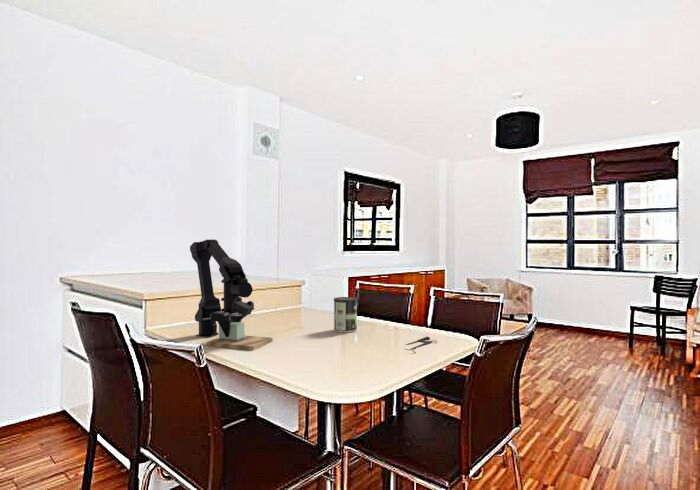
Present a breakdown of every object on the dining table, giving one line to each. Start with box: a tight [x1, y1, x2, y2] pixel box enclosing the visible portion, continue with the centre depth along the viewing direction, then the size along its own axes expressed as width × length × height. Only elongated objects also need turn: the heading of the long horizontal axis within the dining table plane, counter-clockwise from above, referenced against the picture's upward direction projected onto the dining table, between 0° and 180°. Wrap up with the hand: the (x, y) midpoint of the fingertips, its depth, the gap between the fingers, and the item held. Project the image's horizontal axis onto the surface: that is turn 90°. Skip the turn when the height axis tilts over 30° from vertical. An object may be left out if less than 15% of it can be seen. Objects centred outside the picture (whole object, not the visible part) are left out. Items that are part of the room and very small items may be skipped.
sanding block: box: [218, 321, 245, 341], centre depth 165 cm, size 8×5×6 cm, turn 71°
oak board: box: [206, 334, 274, 351], centre depth 164 cm, size 20×14×2 cm
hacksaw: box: [404, 336, 437, 355], centre depth 162 cm, size 24×10×2 cm, turn 135°
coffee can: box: [333, 296, 358, 334], centre depth 189 cm, size 10×10×14 cm
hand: (231, 335), depth 165 cm, fingers closed on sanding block, 5 cm apart
